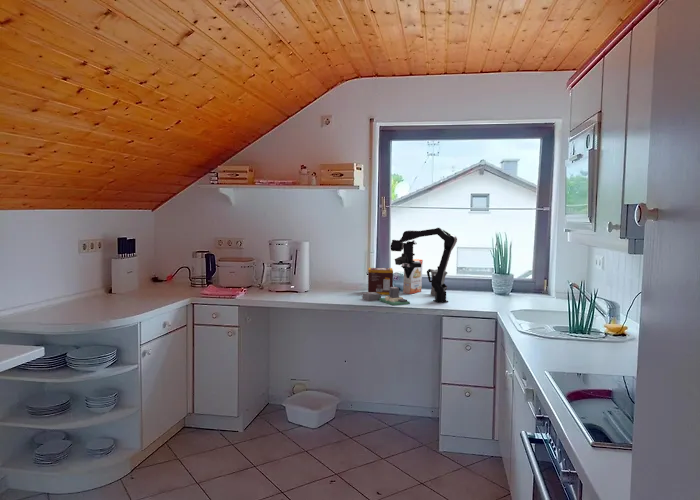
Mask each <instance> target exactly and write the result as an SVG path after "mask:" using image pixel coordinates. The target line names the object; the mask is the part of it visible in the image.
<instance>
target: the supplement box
mask: <svg viewBox="0 0 700 500" xmlns="http://www.w3.org/2000/svg"><path fill="white" fill-rule="evenodd" d="M367 273H368V274H367V275H368V276H367V292H376V293H379V294H381V296H389V288H390V287H394V269H393V267H368V271H367Z"/></svg>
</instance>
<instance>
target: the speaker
mask: <svg viewBox="0 0 700 500" xmlns="http://www.w3.org/2000/svg"><path fill="white" fill-rule="evenodd" d="M361 297H362V300H364V301H367V302H375V301H379V298H382V295H381V294H379V293H376V292H368V291H367V292H362V294H361Z"/></svg>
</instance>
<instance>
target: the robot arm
mask: <svg viewBox="0 0 700 500" xmlns="http://www.w3.org/2000/svg"><path fill="white" fill-rule="evenodd" d="M435 235H436V236H439V237H440V238H441V240H443V251H442V255H441V258H440V262H439V265H438V266H439V268H437V269H438V271H437V274H434V275H433V276H431V279H430V280H431V282H430V283H431V288H432V287H433V288H434V290H435V296H434V299H433V300H432V301H433V302H436V303H439V304H440V303H449V301H448V300H447V290H448V285H446V283H445V281H444V273H445V271H446V270H447V267H448V264H449V261H450V257H451V254H452V251H453V249H454V247H455V246H456V244H457V242H458V237H457V236H456V235H455V234H451V233H449V232H448V231H446V230H445V229H444V228H443V227H436V228H431V229H430V228H429V229H423V230H405V231H404V232H403V233H402V237H400V239H399V240H398V239H392V240H391V243H390V251H391V252H402V251H403V253H401V256H398V257H397V258H394V262H395V263H394V264H395V265H397V266H400V268H402V269H403V272H404V271H405V274H406V277H407V278H409V277H410V275H411V273H412V271H413V269H414V268H417V267H421V263H420V262H414V260H413V259H414V256H415V255H416V254H415V253H414V245H417V242H416V241H415V239H418V238H421V237H428V236H435Z"/></svg>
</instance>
